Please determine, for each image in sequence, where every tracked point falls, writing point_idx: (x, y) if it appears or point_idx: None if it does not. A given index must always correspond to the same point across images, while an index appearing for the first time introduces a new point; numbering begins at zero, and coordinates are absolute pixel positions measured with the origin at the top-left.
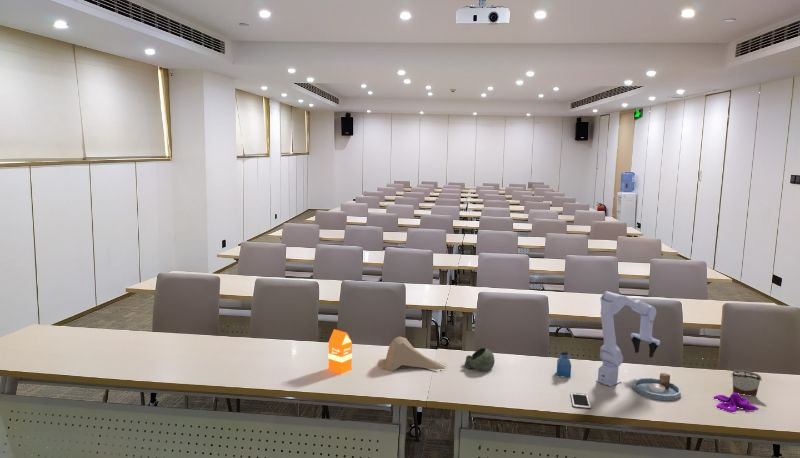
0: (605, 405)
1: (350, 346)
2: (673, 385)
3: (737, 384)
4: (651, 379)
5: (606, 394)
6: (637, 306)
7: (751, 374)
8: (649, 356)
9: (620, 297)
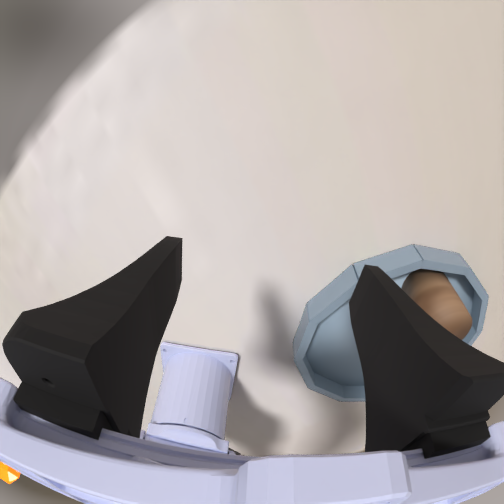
0: (281, 453)
1: (10, 467)
2: (466, 277)
3: None
4: None
5: (253, 428)
6: None
7: None
8: (351, 310)
9: None
